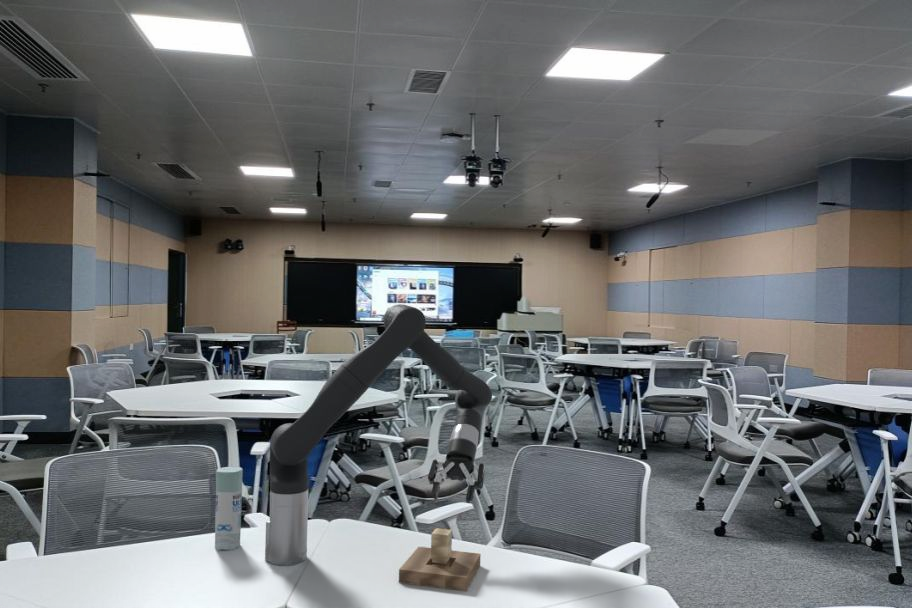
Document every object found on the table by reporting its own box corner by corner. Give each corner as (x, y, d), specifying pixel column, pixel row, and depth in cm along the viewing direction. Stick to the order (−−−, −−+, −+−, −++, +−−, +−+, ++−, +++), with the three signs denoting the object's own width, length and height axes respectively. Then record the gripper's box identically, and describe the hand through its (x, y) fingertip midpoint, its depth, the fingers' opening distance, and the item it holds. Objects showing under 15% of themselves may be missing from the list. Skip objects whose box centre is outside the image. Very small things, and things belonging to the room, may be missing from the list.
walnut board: (398, 582, 148) (399, 569, 148) (418, 558, 163) (418, 546, 163) (466, 591, 144) (466, 577, 144) (480, 565, 159) (480, 553, 159)
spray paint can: (235, 551, 165) (237, 472, 165) (210, 550, 165) (212, 472, 165) (244, 542, 171) (246, 466, 171) (219, 541, 171) (221, 466, 171)
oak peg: (430, 576, 152) (431, 533, 152) (435, 569, 156) (436, 528, 156) (446, 578, 151) (447, 535, 151) (451, 571, 155) (451, 529, 155)
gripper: (435, 435, 172) (421, 489, 161) (487, 439, 168) (476, 494, 157) (440, 451, 177) (426, 504, 166) (490, 455, 174) (481, 510, 162)
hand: (451, 499), depth 161 cm, fingers open, 8 cm apart
